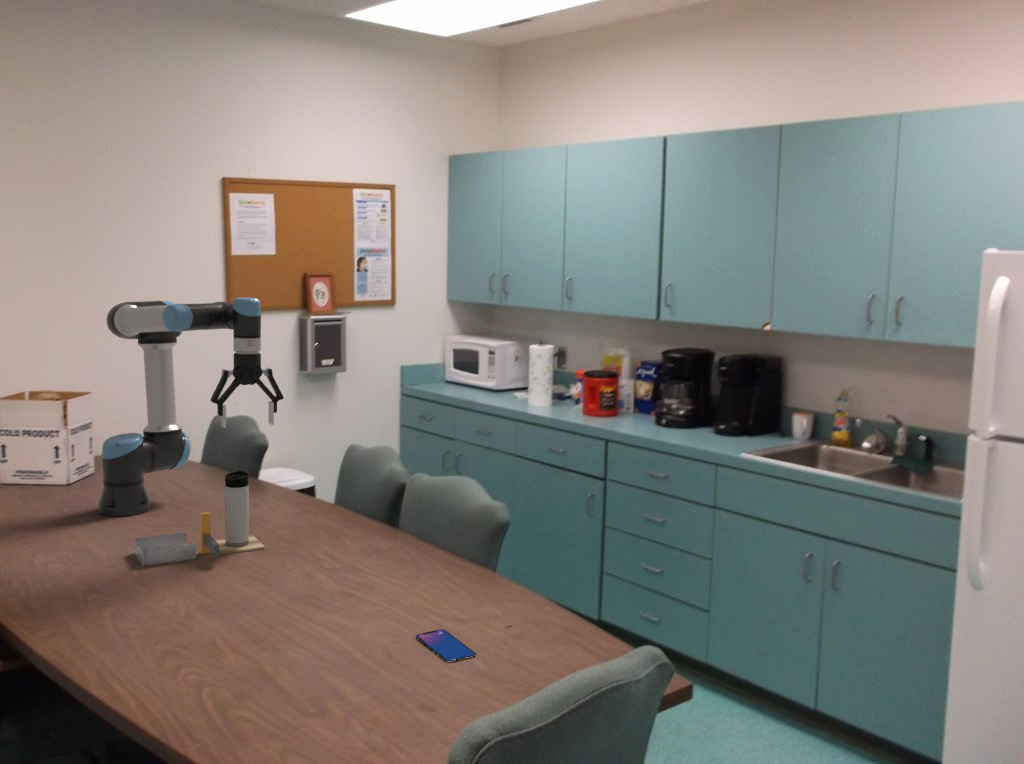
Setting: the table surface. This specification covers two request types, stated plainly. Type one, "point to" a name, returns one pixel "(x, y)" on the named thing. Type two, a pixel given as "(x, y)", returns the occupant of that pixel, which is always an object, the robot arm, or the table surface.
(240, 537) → the travel mug
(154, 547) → the holder
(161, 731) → the table surface
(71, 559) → the table surface
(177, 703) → the table surface
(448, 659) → the smartphone
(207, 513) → the bar
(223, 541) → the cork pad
